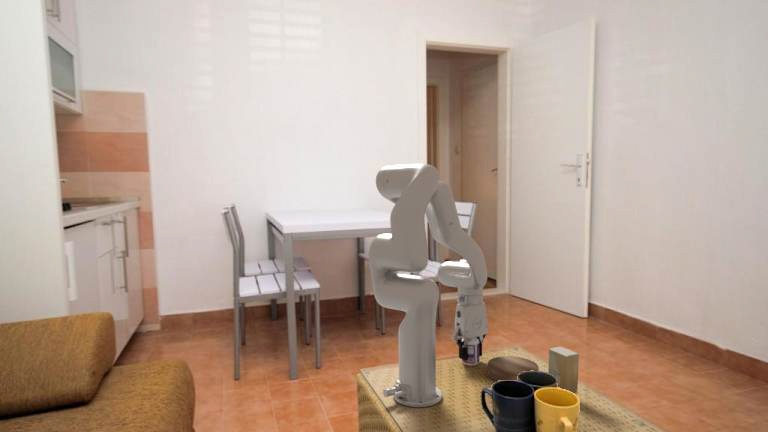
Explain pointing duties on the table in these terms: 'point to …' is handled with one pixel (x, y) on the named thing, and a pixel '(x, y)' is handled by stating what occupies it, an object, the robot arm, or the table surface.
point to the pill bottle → (472, 352)
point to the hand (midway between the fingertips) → (470, 356)
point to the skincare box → (564, 368)
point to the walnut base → (509, 367)
